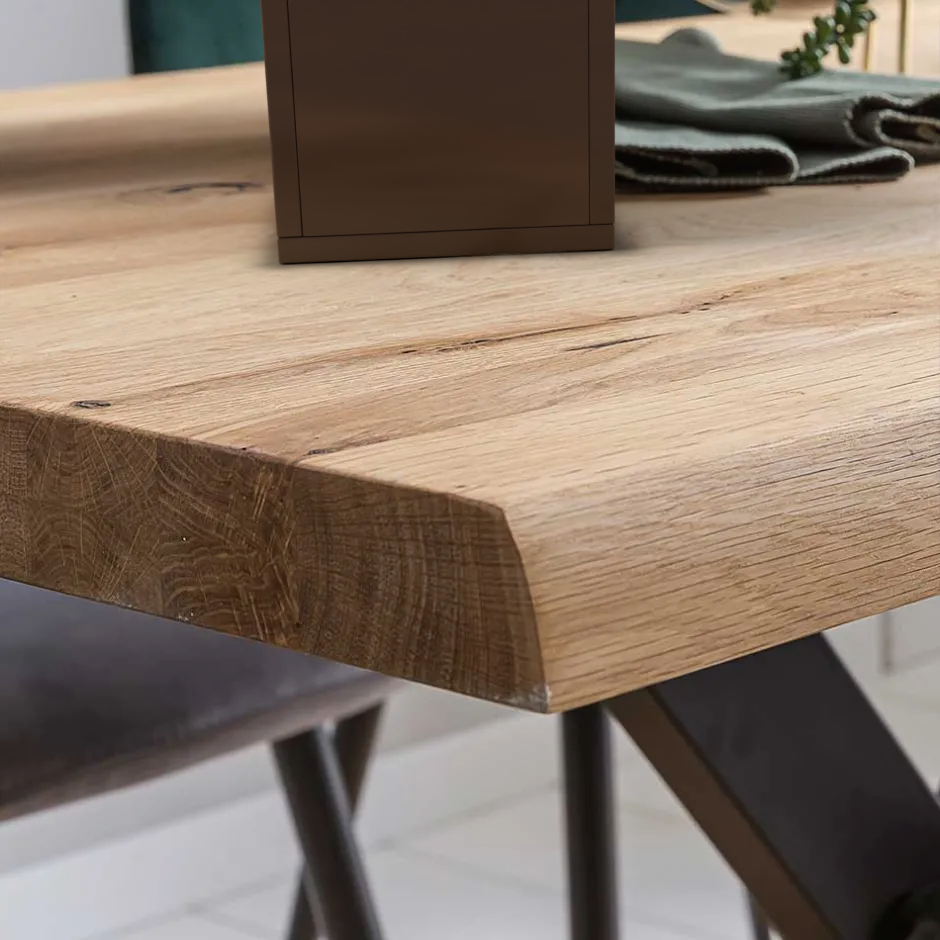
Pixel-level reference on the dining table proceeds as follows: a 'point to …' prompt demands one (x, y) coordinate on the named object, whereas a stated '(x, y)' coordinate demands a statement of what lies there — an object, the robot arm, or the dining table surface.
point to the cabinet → (440, 127)
